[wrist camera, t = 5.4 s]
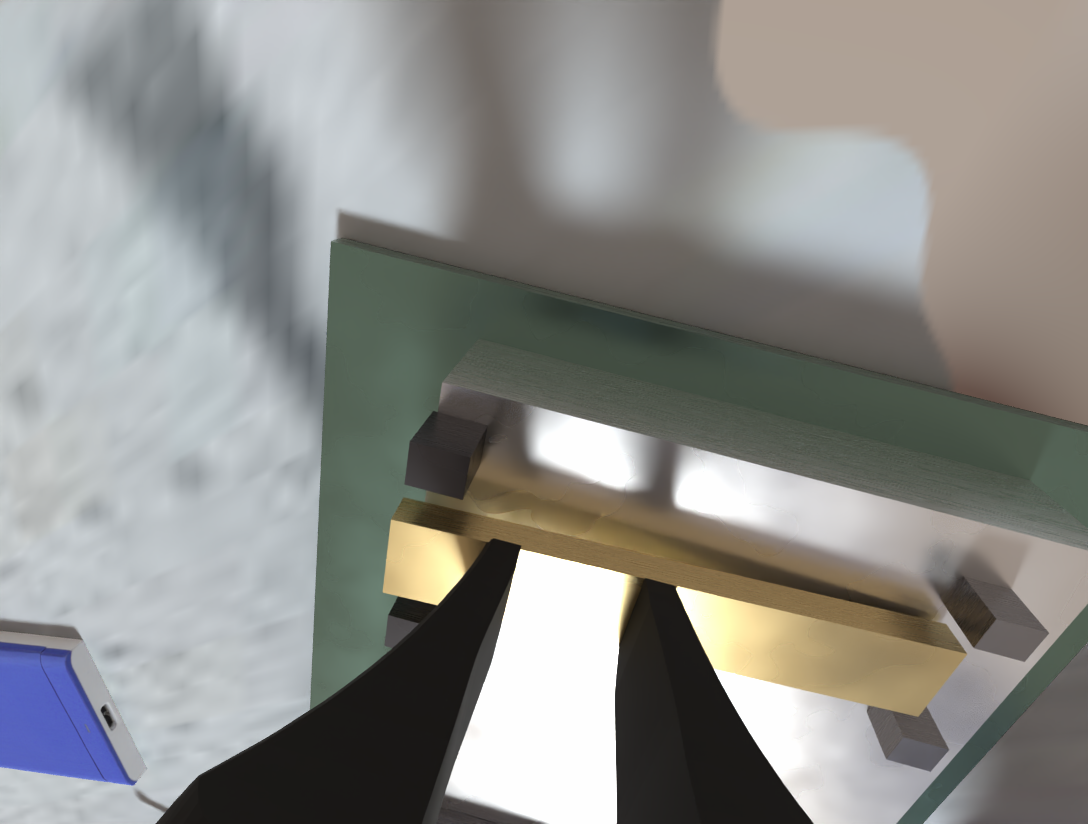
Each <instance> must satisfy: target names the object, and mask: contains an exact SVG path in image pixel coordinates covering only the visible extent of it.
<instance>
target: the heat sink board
mask: <svg viewBox="0 0 1088 824" xmlns="http://www.w3.org/2000/svg"><path fill="white" fill-rule="evenodd" d="M403 497H405V498H409V499H414V500H418V501H422V502H427V503H431V504H435V505H439V506H444V507H448V508H452V509H457V510H461V511H465V512H469V513H474V514H478V515H482V516H487V517H491V518H495V519H499V520H504V521H508V522H512V523H516V524H521V525H525V526H529V527H534V528H538V529H542V530H546V531H551V532H555V533H559V534H564V535H568V536H572V537H576V538H581V539H585V540H589V541H594V542H598V543H602V544H606V545H611V546H615V547H619V548H623V549H628V550H632V551H636V552H641V553H645V554H649V555H653V556H658V557H662V558H666V559H671V560H675V561H679V562H683V563H688V564H692V565H696V566H701V567H705V568H709V569H713V570H718V571H722V572H726V573H730V574H735V575H739V576H743V577H748V578H752V579H756V580H760V581H765V582H769V583H773V584H778V585H782V586H786V587H790V588H795V589H799V590H803V591H808V592H812V593H816V594H820V595H825V596H829V597H833V598H837V599H842V600H846V601H850V602H855V603H859V604H863V605H867V606H872V607H876V608H880V609H885V610H889V611H893V612H897V613H902V614H906V615H910V616H914V617H919V618H923V619H927V620H932V621H936V622H940V623H944V624H947V626H948V627H949V629H950V630H951V631H952V633H953V634H954V636H955V637H956V638H957V640H958V641H959V643H960V644H961V646H962V647H963V648H964V650H965V651H966V653H967V655H966V657H965V658H964V659H963V660H962V662H961V663H960V664H959V666H958V667H957V668H956V669H955V671H954V672H953V673H952V675H951V676H950V677H949V678H948V680H947V681H946V682H945V683H944V685H943V686H942V687H941V689H940V690H939V691H938V692H937V694H936V695H935V696H934V697H933V699H932V700H931V701H930V703H929V704H928V705H927V706H926V708H925V709H924V710H923V711H922V713H921V714H920V715H919V717H917V716H913V715H908V714H904V713H900V712H896V711H891V710H887V709H883V708H878V707H874V706H870V705H865V704H861V703H857V702H852V701H848V700H844V699H839V698H835V697H831V696H827V695H822V694H818V693H814V692H809V691H805V690H801V689H796V688H792V687H788V686H783V685H779V684H775V683H770V682H766V681H762V680H758V679H753V678H749V677H745V676H740V675H736V674H732V673H727V672H723V671H719V670H715V672H716V674H717V676H718V678H719V679H720V681H721V683H722V685H723V687H724V689H725V691H726V692H727V694H728V696H729V698H730V700H731V701H732V703H733V705H734V707H735V708H736V710H737V712H738V713H739V715H740V717H741V719H742V720H743V722H744V724H745V725H746V727H747V729H748V730H749V732H750V734H751V735H752V737H753V738H754V740H755V742H756V743H757V745H758V746H759V748H760V750H761V751H762V752H763V754H764V755H765V757H766V758H767V760H768V761H769V763H770V764H771V766H772V767H773V769H774V770H775V772H776V773H777V775H778V776H779V778H780V779H781V780H782V782H783V783H784V785H785V786H786V787H787V789H788V790H789V791H790V793H791V794H792V796H793V797H794V798H795V800H796V801H797V802H798V804H799V805H800V806H801V808H802V809H803V810H804V811H805V813H806V814H807V815H808V817H809V818H810V819H811V820H812V822H813V823H814V824H923V823H924V822H925V821H926V820H927V818H928V817H929V816H930V815H931V814H932V813H933V812H934V811H935V810H936V809H937V807H938V806H939V805H940V804H941V803H942V802H943V801H944V800H945V799H946V798H947V796H948V795H949V794H950V793H951V792H952V791H953V790H954V789H955V788H956V786H957V785H958V784H959V783H960V782H961V781H962V780H963V779H964V778H965V777H966V775H967V774H968V773H969V772H970V771H971V770H972V769H973V768H974V767H975V766H976V764H977V763H978V762H979V761H980V760H981V759H982V758H983V757H984V756H985V755H986V753H987V752H988V751H989V750H990V749H991V748H992V747H993V746H994V745H995V744H996V742H997V741H998V740H999V739H1000V738H1001V737H1002V736H1003V735H1004V734H1005V733H1006V731H1007V730H1008V729H1009V728H1010V727H1011V726H1012V725H1013V724H1014V723H1015V722H1016V720H1017V719H1018V718H1019V717H1020V716H1021V715H1022V714H1023V713H1024V712H1025V711H1026V709H1027V708H1028V707H1029V706H1030V705H1031V704H1032V703H1033V702H1034V701H1035V700H1036V698H1037V697H1038V696H1039V695H1040V694H1041V693H1042V692H1043V691H1044V690H1045V689H1046V687H1047V686H1048V685H1049V684H1050V683H1051V682H1052V681H1053V680H1054V679H1055V678H1056V676H1057V675H1058V674H1059V673H1060V672H1061V671H1062V670H1063V669H1064V668H1065V666H1066V665H1067V664H1068V663H1069V662H1070V661H1071V660H1072V659H1073V658H1074V657H1075V655H1076V654H1077V653H1078V652H1079V651H1080V650H1081V649H1082V648H1083V647H1084V646H1085V644H1086V643H1087V642H1088V426H1087V425H1083V424H1079V423H1075V422H1071V421H1067V420H1062V419H1059V418H1055V417H1050V416H1047V415H1043V414H1039V413H1035V412H1031V411H1027V410H1023V409H1019V408H1015V407H1011V406H1007V405H1003V404H999V403H995V402H991V401H987V400H983V399H980V398H976V397H972V396H968V395H964V394H960V393H956V392H952V391H948V390H944V389H940V388H936V387H932V386H928V385H924V384H920V383H916V382H912V381H908V380H904V379H900V378H896V377H892V376H888V375H884V374H880V373H876V372H872V371H868V370H864V369H860V368H857V367H853V366H849V365H845V364H841V363H837V362H833V361H829V360H825V359H821V358H817V357H813V356H809V355H805V354H801V353H797V352H793V351H789V350H785V349H781V348H777V347H773V346H769V345H765V344H761V343H757V342H753V341H749V340H745V339H741V338H737V337H733V336H730V335H726V334H722V333H718V332H714V331H710V330H706V329H702V328H698V327H694V326H690V325H686V324H682V323H678V322H674V321H670V320H666V319H662V318H658V317H654V316H650V315H646V314H642V313H638V312H634V311H630V310H626V309H622V308H618V307H614V306H610V305H607V304H603V303H599V302H595V301H591V300H587V299H583V298H579V297H575V296H571V295H567V294H563V293H559V292H555V291H551V290H547V289H543V288H539V287H535V286H531V285H527V284H523V283H519V282H515V281H511V280H507V279H503V278H499V277H495V276H491V275H487V274H483V273H480V272H476V271H472V270H468V269H464V268H460V267H456V266H452V265H448V264H444V263H440V262H436V261H432V260H428V259H424V258H420V257H416V256H412V255H408V254H404V253H400V252H396V251H392V250H388V249H384V248H380V247H376V246H372V245H368V244H364V243H360V242H356V241H353V240H349V239H345V238H341V239H337V240H334V241H331V253H330V276H329V298H328V320H327V343H326V365H325V387H324V410H323V432H322V455H321V477H320V499H319V522H318V544H317V566H316V589H315V611H314V633H313V656H312V678H311V701H310V710H311V709H312V708H314V707H315V706H317V705H319V704H320V703H322V702H323V701H325V700H326V699H327V698H329V697H330V696H332V695H333V694H335V693H336V692H337V691H339V690H340V689H341V688H343V687H344V686H345V685H347V684H348V683H349V682H351V681H352V680H353V679H355V678H356V677H357V676H359V675H360V674H361V673H362V672H364V671H365V670H366V669H368V668H369V667H370V666H372V665H373V664H374V663H375V662H376V661H378V660H379V659H380V658H381V657H382V656H384V655H385V654H386V653H387V652H388V651H390V650H391V649H392V648H393V647H394V646H395V645H396V644H398V643H399V642H400V641H401V640H402V639H403V638H404V637H405V636H406V635H408V634H409V633H410V632H411V631H412V630H413V629H414V628H415V627H416V626H417V625H418V624H419V623H420V622H421V621H422V620H423V619H424V618H425V617H426V616H427V615H428V614H429V613H430V612H431V611H432V610H433V609H434V608H435V607H436V606H437V605H434V604H430V603H426V602H421V601H417V600H413V599H408V598H404V597H400V596H395V595H391V594H387V593H383V584H384V576H385V567H386V558H387V550H388V541H389V533H390V524H391V519H392V517H393V515H394V513H395V512H396V510H397V508H398V506H399V504H400V503H401V501H402V499H403ZM618 648H619V647H615V646H611V645H607V644H602V643H598V642H594V641H589V640H585V639H581V638H576V637H572V636H568V635H564V634H559V633H555V632H551V631H546V630H542V629H538V628H533V627H529V626H525V625H520V624H516V623H512V622H508V621H503V622H502V626H501V630H500V634H499V637H498V641H497V645H496V649H495V653H494V656H493V660H492V663H491V666H490V669H489V671H488V674H487V677H486V680H485V682H484V685H483V688H482V691H481V693H480V696H479V699H478V701H477V704H476V707H475V710H474V712H473V715H472V718H471V721H470V723H469V726H468V729H467V731H466V734H465V737H464V740H463V742H462V745H461V748H460V750H459V753H458V756H457V759H456V761H455V764H454V767H453V770H452V773H451V776H450V779H449V782H448V785H447V788H446V791H445V795H444V799H443V802H442V806H441V807H442V808H445V809H448V810H452V811H455V812H458V813H462V814H465V815H468V816H471V817H475V818H478V819H481V820H485V821H488V822H491V823H495V824H616V822H617V804H616V761H615V715H614V691H615V679H616V668H617V658H618Z"/></svg>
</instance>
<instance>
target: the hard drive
mask: <svg viewBox="0 0 1088 824" xmlns="http://www.w3.org/2000/svg"><path fill="white" fill-rule="evenodd" d="M0 767H4V768H11V769H18V770H24V771H31V772H38V773H46V774H53V775H60V776H67V777H75V778H82V779H89V780H97V781H104V782H112V783H118V784H126V785H132V786H133V785H135V783H136V782H137V781H138V780H139V778H140V777H141V776H142V774H143V773H144V772H145V771H146V769H147V767H146V765H145V763H144V761H143V759H142V758H141V756H140V754H139V752H138V750H137V748H136V746H135V744H134V742H133V739H132V737H131V735H130V733H129V731H128V729H127V727H126V725H125V723H124V722H123V719H122V717H121V715H120V713H119V711H118V709H117V707H116V705H115V703H114V701H113V699H112V697H111V695H110V693H109V691H108V689H107V687H106V685H105V683H104V681H103V679H102V677H101V675H100V673H99V671H98V669H97V667H96V665H95V663H94V661H93V659H92V657H91V655H90V653H89V651H88V649H87V647H86V645H85V643H84V641H83V640H81V639H71V638H62V637H53V636H44V635H35V634H26V633H17V632H7V631H0Z"/></svg>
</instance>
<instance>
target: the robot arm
mask: <svg viewBox="0 0 1088 824" xmlns="http://www.w3.org/2000/svg"><path fill="white" fill-rule="evenodd" d="M521 546H522V545H518V544H514V543H510V542H507V541H503V540H499V539H495V538H493V539H491V540H490V541H489V542H488V543H486V544H485V546H484V548H483V550H482V551H481V553H480V554H479V556H478V557H477V558H476V560H475V561H474V563H473V564H472V565H471V567H470V568H469V569H468V570H467V572H466V573H465V574H464V575H463V577H462V578H461V579H460V580H459V581H458V583H457V584H456V585H455V586H454V587H453V588H452V589H451V591H450V592H449V593H448V594H447V595H446V596H445V597H444V598H443V600H442V601H441V602H440V603H439V604H438V605H437V606H436V607H435V608H434V609H433V610H432V611H431V612H430V613H429V614H428V615H427V616H426V617H425V618H424V619H423V620H422V621H421V622H420V623H419V624H418V625H417V626H416V627H415V628H414V629H413V630H412V631H411V632H410V633H409V634H408V635H406V636H405V637H404V638H403V639H402V640H401V641H400V642H399V643H398V644H396V645H395V646H394V647H393V648H392V649H391V650H390V651H388V652H387V653H386V654H385V655H384V656H382V657H381V658H380V659H379V660H378V661H376V662H375V663H374V664H373V665H372V666H370V667H369V668H368V669H366V670H365V671H364V672H362V673H361V674H360V675H359V676H357V677H356V678H355V679H353V680H352V681H351V682H349V683H348V684H347V685H345V686H344V687H343V688H341V689H340V690H339V691H337V692H336V693H335V694H333V695H332V696H330V697H329V698H327V699H326V700H325V701H323V702H322V703H320V704H319V705H317V706H315V707H314V708H312V709H311V710H309V711H308V712H306V713H305V714H303V715H302V716H300V717H298V718H297V719H295V720H294V721H292V722H291V723H289V724H288V725H286V726H285V727H283V728H282V729H280V730H278V731H277V732H275V733H274V734H272V735H270V736H269V737H267V738H265V739H264V740H262V741H260V742H258V743H256V744H255V745H253V746H251V747H249V748H248V749H246V750H244V751H242V752H240V753H239V754H237V755H235V756H233V757H231V758H230V759H228V760H226V761H224V762H222V763H221V764H219V765H217V766H215V767H213V768H212V769H210V770H208V771H206V772H204V773H202V774H201V775H199V776H198V777H197V778H196V779H195V780H194V781H193V782H192V783H191V784H190V785H189V786H188V787H187V789H186V790H185V791H184V792H183V793H182V794H181V795H180V796H179V797H178V798H177V799H176V801H175V802H174V803H173V804H172V805H171V806H170V808H169V809H168V810H167V811H166V812H165V814H164V815H163V816H162V817H161V818H160V819H159V821H158V822H157V823H156V824H437V820H438V816H439V813H440V809H441V806H442V802H443V799H444V795H445V791H446V788H447V785H448V782H449V779H450V776H451V773H452V770H453V767H454V764H455V761H456V759H457V756H458V753H459V750H460V748H461V745H462V742H463V740H464V737H465V734H466V731H467V729H468V726H469V723H470V721H471V718H472V715H473V712H474V710H475V707H476V704H477V701H478V699H479V696H480V693H481V691H482V688H483V685H484V682H485V680H486V677H487V674H488V671H489V669H490V666H491V663H492V660H493V656H494V653H495V649H496V645H497V641H498V637H499V634H500V630H501V626H502V622H503V618H504V614H505V610H506V606H507V602H508V598H509V594H510V590H511V586H512V582H513V578H514V574H515V570H516V566H517V562H518V558H519V554H520V550H521ZM614 715H615V761H616V804H617V822H616V824H814V823H813V822H812V820H811V819H810V818H809V817H808V815H807V814H806V813H805V811H804V810H803V809H802V808H801V806H800V805H799V804H798V802H797V801H796V800H795V798H794V797H793V796H792V794H791V793H790V791H789V790H788V789H787V787H786V786H785V785H784V783H783V782H782V780H781V779H780V778H779V776H778V775H777V773H776V772H775V770H774V769H773V767H772V766H771V764H770V763H769V761H768V760H767V758H766V757H765V755H764V754H763V752H762V751H761V750H760V748H759V746H758V745H757V743H756V742H755V740H754V738H753V737H752V735H751V734H750V732H749V730H748V729H747V727H746V725H745V724H744V722H743V720H742V719H741V717H740V715H739V713H738V712H737V710H736V708H735V707H734V705H733V703H732V701H731V700H730V698H729V696H728V694H727V692H726V691H725V689H724V687H723V685H722V683H721V681H720V679H719V678H718V676H717V674H716V672H715V670H714V668H713V666H712V664H711V662H710V660H709V658H708V656H707V654H706V652H705V650H704V648H703V646H702V644H701V642H700V640H699V638H698V636H697V634H696V632H695V629H694V627H693V625H692V623H691V621H690V619H689V616H688V614H687V612H686V610H685V608H684V605H683V603H682V601H681V599H680V596H679V594H678V592H677V590H676V588H675V586H674V585H670V584H667V583H663V582H659V581H655V580H651V579H648V578H645V579H644V582H643V585H642V587H641V590H640V592H639V595H638V598H637V600H636V603H635V605H634V608H633V610H632V613H631V616H630V618H629V621H628V623H627V626H626V629H625V631H624V634H623V636H622V639H621V641H620V644H619V648H618V658H617V668H616V679H615V691H614Z"/></svg>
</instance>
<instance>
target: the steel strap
mask: <svg viewBox="0 0 1088 824" xmlns="http://www.w3.org/2000/svg"><path fill="white" fill-rule="evenodd" d="M437 824H495V823H491V822H488V821H485V820H481V819H478V818H475V817H471V816H468V815H465V814H462V813H458V812H455V811H452V810H448V809H445V808H442V807H441V809H440V813H439V816H438V820H437Z"/></svg>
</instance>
